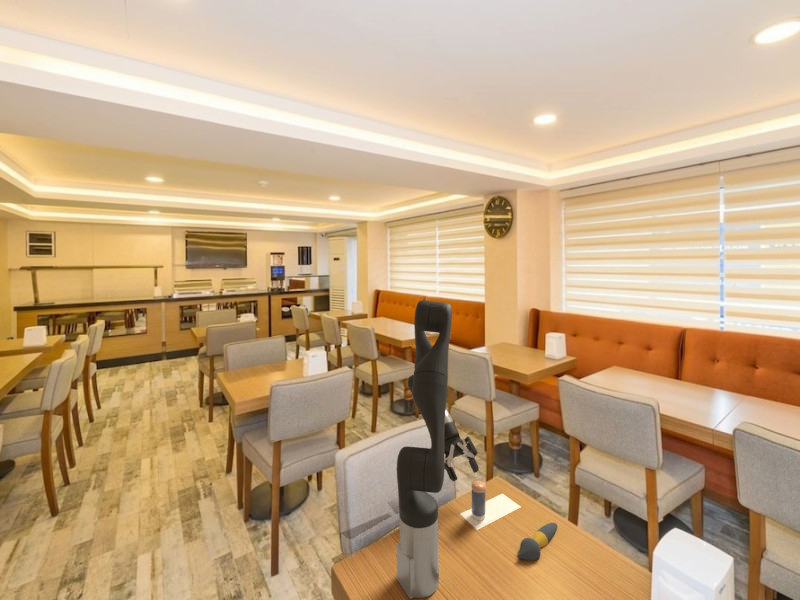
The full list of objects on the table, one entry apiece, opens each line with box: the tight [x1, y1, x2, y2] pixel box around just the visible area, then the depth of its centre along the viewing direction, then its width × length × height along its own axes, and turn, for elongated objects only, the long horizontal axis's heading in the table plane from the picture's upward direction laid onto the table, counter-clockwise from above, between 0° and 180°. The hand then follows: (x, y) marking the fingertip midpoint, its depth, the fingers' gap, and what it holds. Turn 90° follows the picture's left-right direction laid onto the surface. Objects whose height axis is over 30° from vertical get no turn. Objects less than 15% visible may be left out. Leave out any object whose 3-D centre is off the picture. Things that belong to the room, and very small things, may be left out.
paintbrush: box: [517, 522, 558, 562], centre depth 96 cm, size 20×5×5 cm, turn 137°
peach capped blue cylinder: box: [471, 480, 487, 521], centre depth 105 cm, size 4×4×10 cm
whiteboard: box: [459, 493, 522, 531], centre depth 108 cm, size 20×9×1 cm, turn 120°
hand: (466, 476), depth 109 cm, fingers open, 8 cm apart
